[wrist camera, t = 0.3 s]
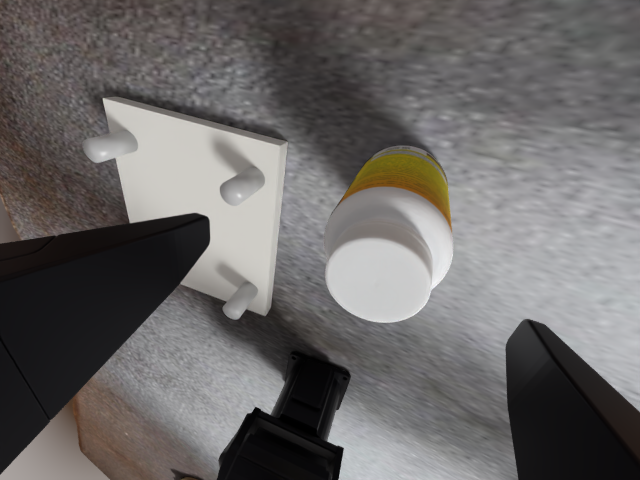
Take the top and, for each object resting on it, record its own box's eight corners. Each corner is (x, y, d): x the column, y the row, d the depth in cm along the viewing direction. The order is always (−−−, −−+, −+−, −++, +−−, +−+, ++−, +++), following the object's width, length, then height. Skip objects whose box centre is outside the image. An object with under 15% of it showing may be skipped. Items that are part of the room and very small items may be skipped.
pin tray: (271, 307, 29) (249, 340, 26) (148, 262, 32) (114, 286, 28) (287, 141, 20) (258, 158, 17) (116, 96, 23) (60, 103, 19)
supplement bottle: (356, 144, 19) (294, 211, 11) (452, 141, 17) (468, 218, 9) (359, 224, 22) (312, 327, 13) (442, 228, 20) (448, 350, 12)
